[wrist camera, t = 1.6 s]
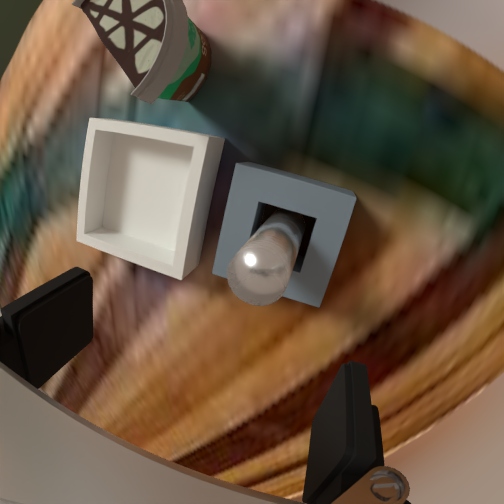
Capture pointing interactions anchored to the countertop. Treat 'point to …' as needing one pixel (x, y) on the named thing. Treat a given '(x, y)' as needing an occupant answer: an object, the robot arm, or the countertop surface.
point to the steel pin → (267, 259)
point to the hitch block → (295, 199)
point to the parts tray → (147, 193)
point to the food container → (153, 45)
